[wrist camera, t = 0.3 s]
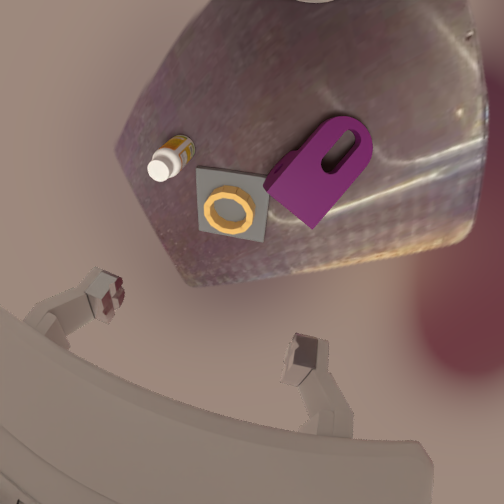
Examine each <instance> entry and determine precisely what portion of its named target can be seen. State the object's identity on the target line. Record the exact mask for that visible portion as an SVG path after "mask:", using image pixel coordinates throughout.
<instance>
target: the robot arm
mask: <svg viewBox="0 0 504 504" xmlns="http://www.w3.org/2000/svg"><path fill="white" fill-rule="evenodd" d="M298 1H302V2H309V3H323V2H329V1H333V0H298ZM122 284H123V280H122V278H121V277H119V276H116V275H114V274H112V273H109V272H107V271H104V270H102V269H100V268H98V267H94V268H93V269H91V271H90V272H89V273H88V274H87V276H86V277H85V278H84V279H83V280H82V281H81V283H80V284H79V285H78V286H77V288H71V289H69V290H67V291H64V292H62V293H59V294H57V295H55V296H52V297H50V298H48V299H46V300H43V301H41V302H39V303H36V305H35V306H34V307H33V308H32V310H31V311H30V312H29V313H28V315H27V316H26V317H25V319H24V320H23V321H22V320H20V319H19V318H17V317H16V316H15V315H13V314H12V313H11V312H9V311H8V310H7V309H5V308H4V307H3V306H1V305H0V504H431V501H432V493H433V483H434V465H433V462H432V460H431V458H430V457H429V455H428V453H427V452H426V450H425V449H424V447H423V446H422V445H421V444H420V442H418V441H413V440H406V441H389V440H388V441H387V440H364V439H363V440H362V439H352V437H353V417H354V415H353V414H354V413H353V411H352V409H351V408H350V406H349V404H348V402H347V401H346V399H345V397H344V395H343V393H342V392H341V390H340V388H339V386H338V385H337V383H336V381H335V379H334V378H333V376H332V374H331V373H329V372H328V357H329V356H328V355H329V342H328V341H327V340H323V339H319V338H316V337H312V336H308V335H303V334H299V333H295V334H294V336H293V339H292V342H290V343H289V345H288V347H287V349H286V352H285V356H284V361H283V362H284V364H285V366H284V368H283V369H282V374H281V380H280V383H284V384H288V385H292V386H296V387H298V390H299V393H300V395H301V398H302V400H303V403H304V405H305V408H306V410H307V413H308V415H309V418H310V419H309V420H308V421H307V422H305V423H304V424H303V425H301V426H300V427H299V431H298V432H294V431H289V430H284V429H278V428H273V427H269V426H264V425H259V424H255V423H251V422H247V421H242V420H239V419H234V418H231V417H228V416H224V415H220V414H217V413H213V412H210V411H207V410H204V409H201V408H197V407H194V406H191V405H188V404H185V403H182V402H180V401H177V400H174V399H171V398H169V397H166V396H164V395H161V394H158V393H156V392H153V391H151V390H148V389H146V388H144V387H141V386H139V385H137V384H134V383H132V382H130V381H127V380H125V379H123V378H121V377H119V376H117V375H114V374H112V373H110V372H108V371H106V370H104V369H102V368H100V367H98V366H96V365H94V364H92V363H90V362H88V361H86V360H85V359H83V358H81V357H79V356H78V355H76V354H74V353H72V352H70V351H69V348H70V343H69V342H68V339H67V337H66V336H68V335H69V334H71V333H73V332H74V331H76V330H77V329H79V328H81V327H82V326H84V325H86V324H87V323H89V322H91V321H92V320H94V318H95V319H97V320H99V321H102V322H104V323H106V324H109V323H110V321H111V320H112V318H113V317H114V315H115V309H118V308H119V307H120V306H121V305H122V303H123V300H124V297H125V291H124V289H123V287H122V286H121V285H122Z"/></svg>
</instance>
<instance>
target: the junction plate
mask: <svg viewBox="0 0 504 504" xmlns="http://www.w3.org/2000/svg"><path fill="white" fill-rule="evenodd" d="M266 177H267V175H261V174H254V173H248V172H241V171H234V170H227V169H220V168H212V167H204V166H197V167H196V184H197V204H198V221H199V230H200V231H205V232H210V233H216V234H221V235H226V236H232V237H237V238H242V239H248V240H253V241H258V242H264V237H265V229H266V221H267V214H268V206H269V198H270V195H269V194H268V193H267V192H266V191H265V189H264V188H263V183H264V181H265V179H266Z"/></svg>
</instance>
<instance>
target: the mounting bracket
mask: <svg viewBox="0 0 504 504" xmlns="http://www.w3.org/2000/svg"><path fill="white" fill-rule="evenodd" d="M347 130H350V131H352V132H353V133H354V135H355V139H356V141H355V144H354V146H353V147H352V148H351V149H350V150H349V152H348V153H347V154H346V155H345V156H344V157H343V159H342V160H341V161H340V162H339V163H338V164H337V166H336V167H335V168H334V169H333V170H332V171H331V172H327V173H325V172H324V171H323V170H322V168H321V160H322V158H323V157H324V156H325V154H326V153H327V152H328V151H329V150H330V149H331V147H332V146H333V145H334V144H335V143H336V142H337V140H338V139H339V138H340V137H341V136H342V135H343V133H344V132H345V131H347ZM372 151H373V144H372V139H371V136H370V134H369V132H368V130H367V129H366V127H365V126H364V125H363V124H362V123H361V122H359V121H358V120H356V119H354V118H352V117H347V116H339V117H333V118H330V119H327V120H326V121H324V122H323V123H321V125H320V126H319V127H318V128H317V129H316V130H315V131H314V132H313V134H312V135H311V136H310V137H309V138H308V139H307V140H306V142H305V143H304V144H303V145H302V146H301V147H300V149H299V150H297V151H294V150H293V151H290V152H289V153H287V154H286V155H285V156H284V157H283V158H282V159H281V160H280V161H279V162H278V163H277V164H276V165H275V166H274V168H273V169H272V170H271V171H270V173H269V174H268V176H267V177H266V179H265V181H264V183H263V188H264V189H265V191H266V192H267V193H268V194H269V195H271V196H272V197H273V198H274V199H276V200H277V201H278V202H279V203H281V204H282V205H283V206H284V207H286V208H287V209H288V210H289V211H290V212H292V213H293V214H294V215H295V216H297V217H298V218H299V219H300V220H301V221H303V222H304V223H305V224H306V225H307V226H309V227H310V228H311V229H313V228H314V227H315V226H316V225H317V224H318V223H319V221H320V220H321V219H322V218H323V217H324V216H325V215H326V213H327V212H328V211H329V210H330V209H331V208H332V206H333V205H334V204H335V203H336V202H337V201H338V199H339V198H340V197H341V196H342V195H343V194H344V192H345V191H346V190H347V189H348V188H349V186H350V185H351V184H352V183H353V182H354V181H355V179H356V178H357V177H358V176H359V175H360V173H361V172H362V171H363V170H364V169H365V167H366V166H367V165H368V163H369V161H370V159H371V156H372Z"/></svg>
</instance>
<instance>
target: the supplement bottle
mask: <svg viewBox="0 0 504 504" xmlns="http://www.w3.org/2000/svg"><path fill="white" fill-rule="evenodd" d="M194 153H195V146H194V143H193V141H192V140H191V139H190V138H188V137H187V136H184V135H177V136H174V137H173V138H171V139H170V140H169V141H168V142H166V143H165V144H164V145H163V146H162V147H160V148H159V149H158V150H157V151H156V152H155V153H154V155H153V157H152V161H151V162H150V163H149V164H148V173H149V175H150V176H151V177H152V178H153V179H154V180H156V181H159V182H162V181H165V180H167V179H168V178H170V177H173V176H175V175H177V174H178V173H179V171H180V170H181V169H182V168H183V167H184V166H185V165H186V164H187V163H188V161H189V160H190V159H191V158H192V157H193V155H194Z"/></svg>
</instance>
